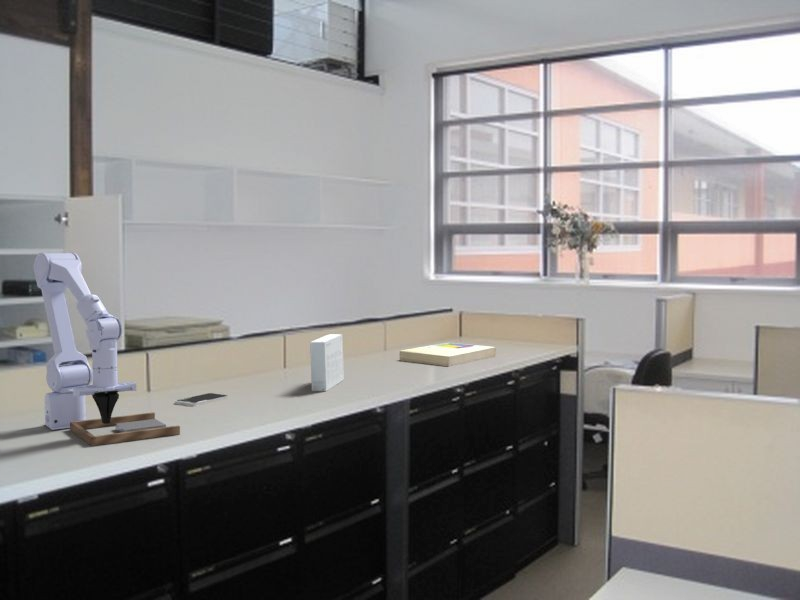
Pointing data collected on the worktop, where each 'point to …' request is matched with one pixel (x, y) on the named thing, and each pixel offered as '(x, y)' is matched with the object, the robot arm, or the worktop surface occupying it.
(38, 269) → the robot arm
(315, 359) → the skincare box
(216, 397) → the smartphone
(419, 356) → the puzzle box
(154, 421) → the cover plate
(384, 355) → the worktop surface
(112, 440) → the walnut u-shaped frame
